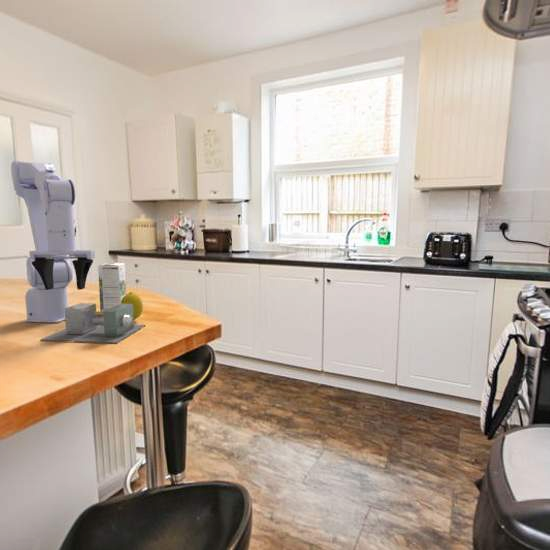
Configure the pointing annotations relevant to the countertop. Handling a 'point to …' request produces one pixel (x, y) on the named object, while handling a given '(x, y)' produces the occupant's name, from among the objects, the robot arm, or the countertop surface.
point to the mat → (89, 336)
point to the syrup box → (111, 284)
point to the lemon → (134, 300)
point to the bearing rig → (115, 320)
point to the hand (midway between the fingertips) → (65, 289)
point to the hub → (80, 318)
